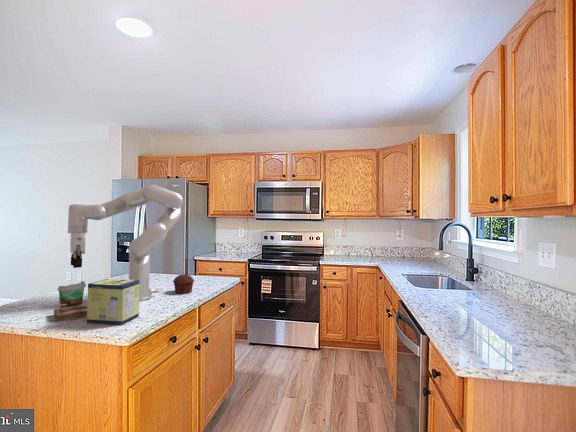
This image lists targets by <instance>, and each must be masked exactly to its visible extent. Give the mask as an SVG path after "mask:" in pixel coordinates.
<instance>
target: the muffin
mask: <svg viewBox="0 0 576 432" xmlns="http://www.w3.org/2000/svg"><path fill="white" fill-rule="evenodd" d="M194 281H195V280H194V278H193V277H192V276H191V275H190V274H186V273H185V274H184V273H182V274H179V275H177V276H176V277H175V278H174V280H172V284H174V293H175V294H176V295H187V294H191V293H192V290H193V285H194Z"/></svg>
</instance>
